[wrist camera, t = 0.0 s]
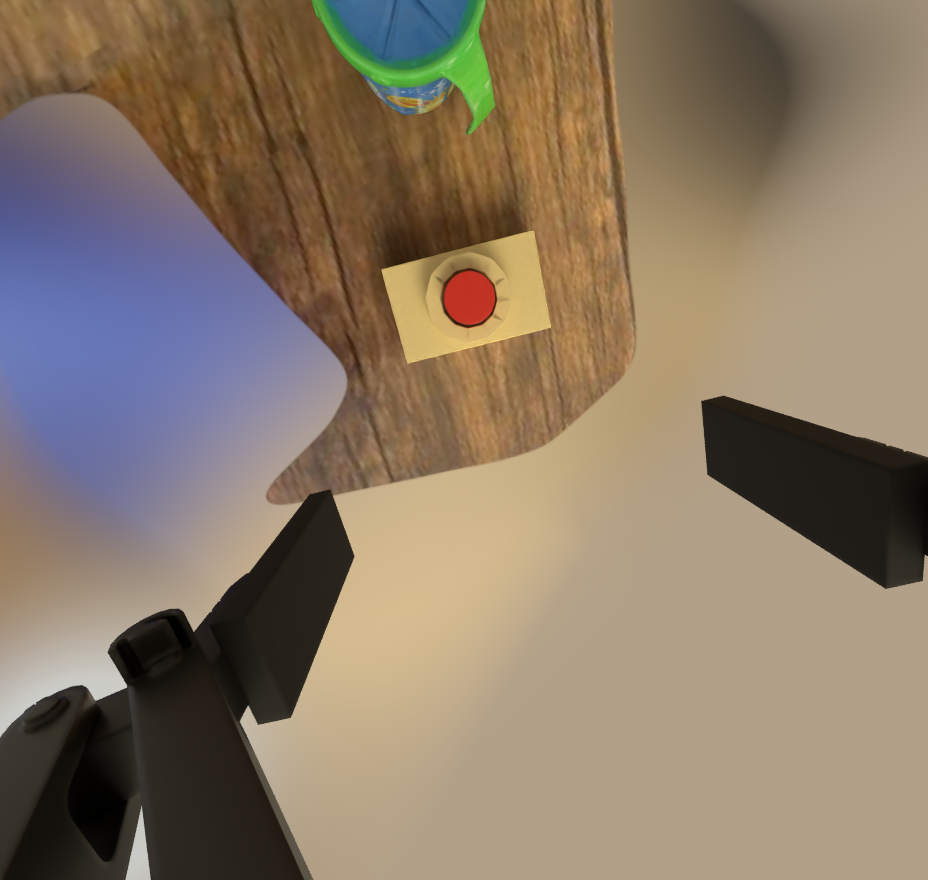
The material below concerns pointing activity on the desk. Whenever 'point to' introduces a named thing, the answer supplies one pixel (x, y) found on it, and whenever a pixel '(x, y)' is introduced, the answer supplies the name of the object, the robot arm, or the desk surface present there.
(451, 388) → the desk surface
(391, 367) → the desk surface
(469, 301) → the button
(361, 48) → the snack cup
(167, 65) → the desk surface
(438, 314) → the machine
